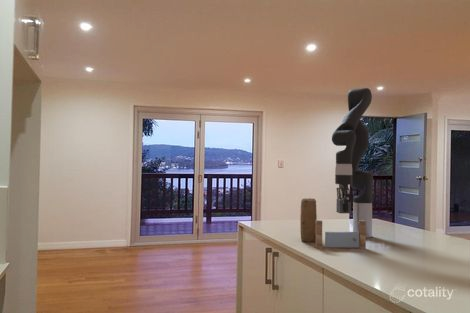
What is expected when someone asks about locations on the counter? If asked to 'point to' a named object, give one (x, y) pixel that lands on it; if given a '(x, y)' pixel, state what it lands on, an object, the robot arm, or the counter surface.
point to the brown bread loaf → (308, 220)
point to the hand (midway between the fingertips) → (343, 210)
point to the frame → (361, 246)
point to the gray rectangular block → (340, 206)
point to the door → (342, 239)
